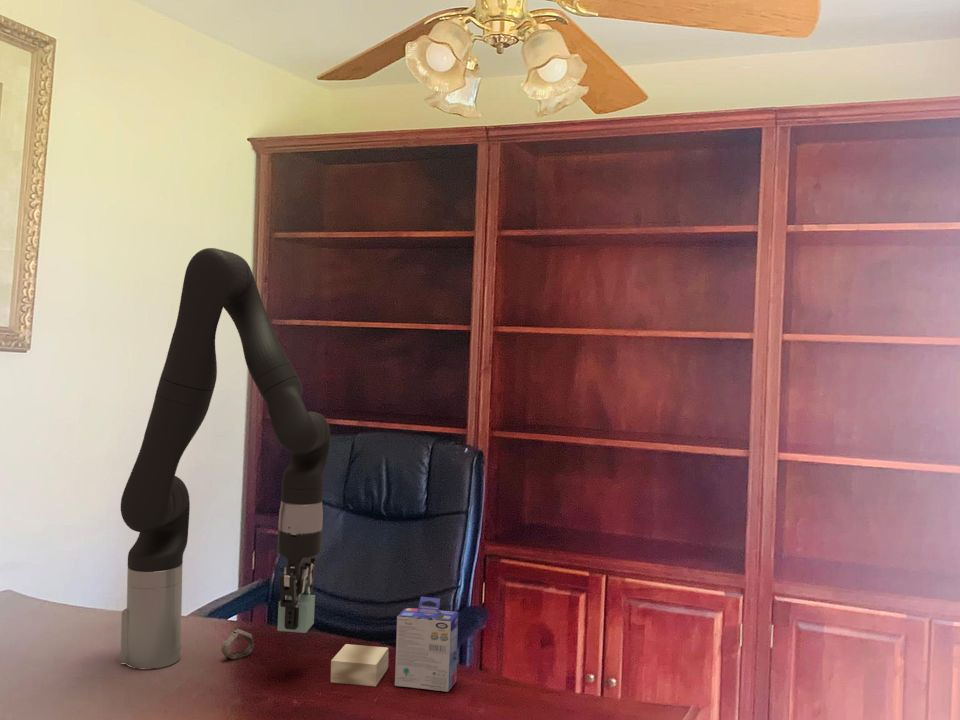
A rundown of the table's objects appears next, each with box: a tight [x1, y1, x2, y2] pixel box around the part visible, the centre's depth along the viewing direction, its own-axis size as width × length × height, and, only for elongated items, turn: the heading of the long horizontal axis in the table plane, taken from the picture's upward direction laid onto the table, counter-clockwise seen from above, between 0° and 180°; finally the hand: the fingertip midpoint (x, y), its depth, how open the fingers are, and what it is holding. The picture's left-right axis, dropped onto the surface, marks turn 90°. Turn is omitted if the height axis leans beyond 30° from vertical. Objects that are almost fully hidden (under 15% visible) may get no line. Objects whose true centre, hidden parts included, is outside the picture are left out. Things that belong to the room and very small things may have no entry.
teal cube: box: [277, 594, 316, 634], centre depth 144 cm, size 5×5×5 cm
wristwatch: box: [221, 628, 255, 660], centre depth 151 cm, size 4×6×5 cm, turn 144°
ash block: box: [330, 643, 390, 687], centre depth 144 cm, size 8×8×4 cm
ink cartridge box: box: [394, 596, 459, 693], centre depth 141 cm, size 10×6×14 cm, turn 78°
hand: (296, 622), depth 144 cm, fingers closed on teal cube, 5 cm apart
